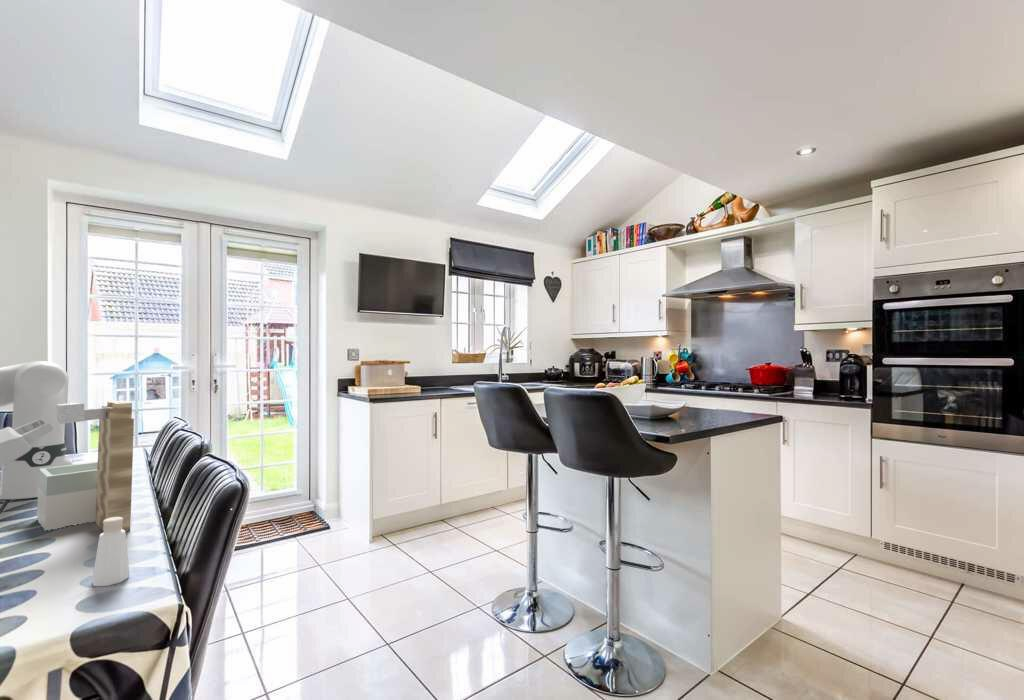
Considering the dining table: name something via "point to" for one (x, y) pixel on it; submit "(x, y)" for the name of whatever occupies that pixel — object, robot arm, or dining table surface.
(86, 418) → the bar
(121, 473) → the tan wooden tall block
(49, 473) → the raised tray
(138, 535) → the dining table surface
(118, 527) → the pepper shaker
